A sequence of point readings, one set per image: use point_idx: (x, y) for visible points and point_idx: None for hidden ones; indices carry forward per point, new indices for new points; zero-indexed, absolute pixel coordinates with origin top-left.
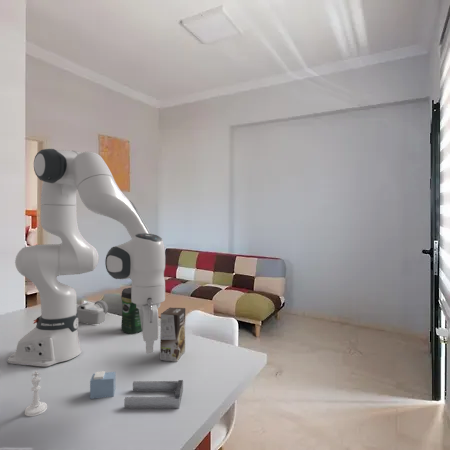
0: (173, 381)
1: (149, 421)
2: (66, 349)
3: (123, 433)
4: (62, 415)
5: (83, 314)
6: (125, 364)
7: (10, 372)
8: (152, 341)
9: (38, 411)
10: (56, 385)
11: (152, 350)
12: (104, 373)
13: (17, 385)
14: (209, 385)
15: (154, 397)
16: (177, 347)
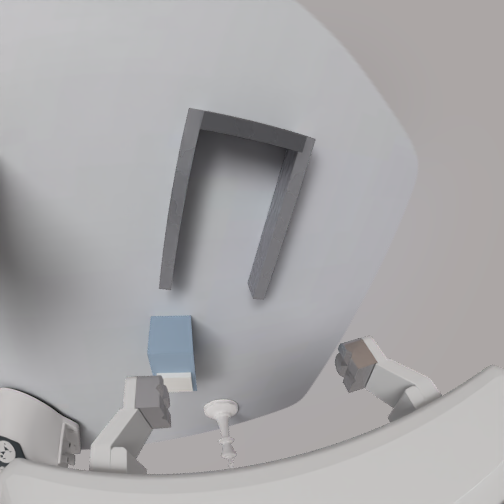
0: (182, 148)
1: (333, 219)
2: (40, 423)
3: (349, 270)
4: (247, 377)
5: None
6: (21, 305)
7: None
8: (420, 381)
9: (235, 406)
10: None
11: (373, 342)
12: (165, 375)
13: None
14: (185, 13)
15: (281, 218)
16: None
